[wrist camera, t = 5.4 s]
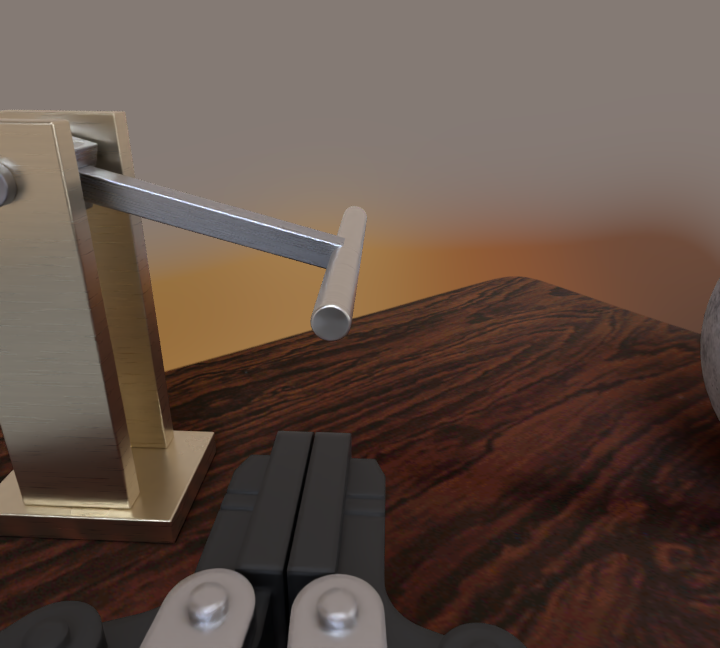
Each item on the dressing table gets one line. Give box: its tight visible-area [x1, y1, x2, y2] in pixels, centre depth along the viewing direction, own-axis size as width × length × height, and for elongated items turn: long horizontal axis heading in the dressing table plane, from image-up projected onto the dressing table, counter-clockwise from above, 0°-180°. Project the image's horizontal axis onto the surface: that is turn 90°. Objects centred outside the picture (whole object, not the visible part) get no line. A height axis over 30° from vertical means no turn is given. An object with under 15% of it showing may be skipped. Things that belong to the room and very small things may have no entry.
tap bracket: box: [0, 110, 216, 543], centre depth 22 cm, size 8×6×16 cm
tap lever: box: [72, 136, 367, 341], centre depth 20 cm, size 13×12×2 cm
